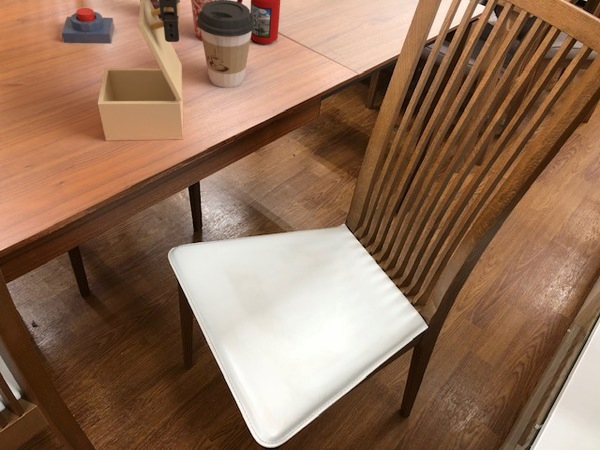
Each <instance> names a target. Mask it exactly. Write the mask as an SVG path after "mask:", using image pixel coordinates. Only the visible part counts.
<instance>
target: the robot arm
mask: <svg viewBox="0 0 600 450" xmlns="http://www.w3.org/2000/svg"><path fill="white" fill-rule="evenodd" d="M157 1H158V2H159V5H160V13H161V15H160V21H163V24H164V27H163V28H164V34H165V40H166V41H167V42H171V43H178V42H180V31H179V25H178V19H179V20H180V13H179V14H178V9H177V4H178V3H179V4H180V3H181V0H157ZM165 7H172V8H173V9H174V11H165Z"/></svg>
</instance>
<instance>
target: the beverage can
mask: <svg viewBox="0 0 600 450" xmlns="http://www.w3.org/2000/svg"><path fill="white" fill-rule="evenodd" d="M280 11H281V0H250V13H251V14H252V16H253V17H254V23H255V27H254V29H253V30H252V32H251V38H250V39H252V40H253V41H254V42H256V43H258V44H260V45H269V44H272V43H274V42H276V41H277V40H278V38H279V28H280V27H279V26H280V14H281V12H280Z"/></svg>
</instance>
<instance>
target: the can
mask: <svg viewBox="0 0 600 450" xmlns="http://www.w3.org/2000/svg"><path fill="white" fill-rule="evenodd" d="M150 1H151V3H152V5H153V7H154V9H158V8H160V5H159V2H158V1H157V0H150ZM139 2H140V3H141V0H140V1H139ZM140 3H139V4H140ZM160 15H161V14H159V15H158V17H159V20H161V18H160Z"/></svg>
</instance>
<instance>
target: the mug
mask: <svg viewBox="0 0 600 450" xmlns="http://www.w3.org/2000/svg"><path fill="white" fill-rule="evenodd" d="M212 1H216V0H190V3H191V12H192V20H193V29H194V35H195V37H196V38H197V39H198V40H200V41H202V42H203V40H202V34H201V29H200V28H199V26H198V25H197V20H198V14H199V13H200V12H201V11H202V7H203V6H204V5H205V4H207V3H209V2H212ZM236 2H239V3H242V4H243V2H244V1H243V0H236Z"/></svg>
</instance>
